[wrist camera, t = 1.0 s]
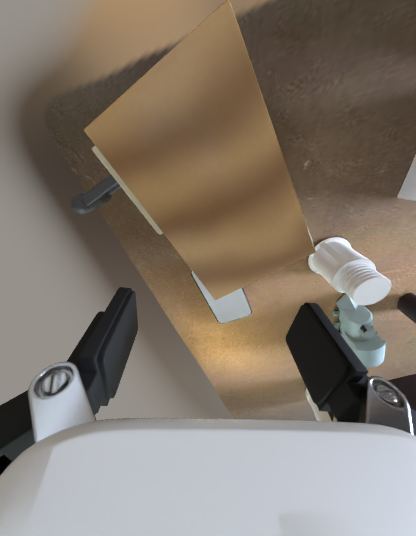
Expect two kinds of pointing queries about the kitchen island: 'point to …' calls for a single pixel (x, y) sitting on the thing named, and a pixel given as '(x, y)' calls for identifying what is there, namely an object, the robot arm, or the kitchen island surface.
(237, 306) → the smartphone
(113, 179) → the closet door
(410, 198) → the milk
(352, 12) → the kitchen island surface
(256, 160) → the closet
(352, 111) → the kitchen island surface
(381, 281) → the downlight
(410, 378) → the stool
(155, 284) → the kitchen island surface
